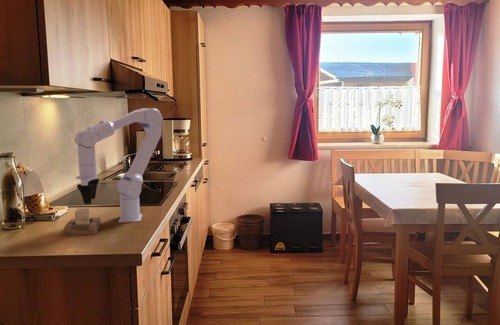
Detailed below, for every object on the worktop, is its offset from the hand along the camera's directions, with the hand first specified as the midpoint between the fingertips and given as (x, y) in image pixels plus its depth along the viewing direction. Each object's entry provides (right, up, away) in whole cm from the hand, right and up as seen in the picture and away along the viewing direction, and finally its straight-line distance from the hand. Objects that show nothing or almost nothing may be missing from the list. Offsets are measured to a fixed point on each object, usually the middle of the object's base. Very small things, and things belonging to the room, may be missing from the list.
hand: (89, 201), depth 148 cm
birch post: (-1, -9, -3) cm, 10 cm away
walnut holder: (-1, -10, -3) cm, 10 cm away
